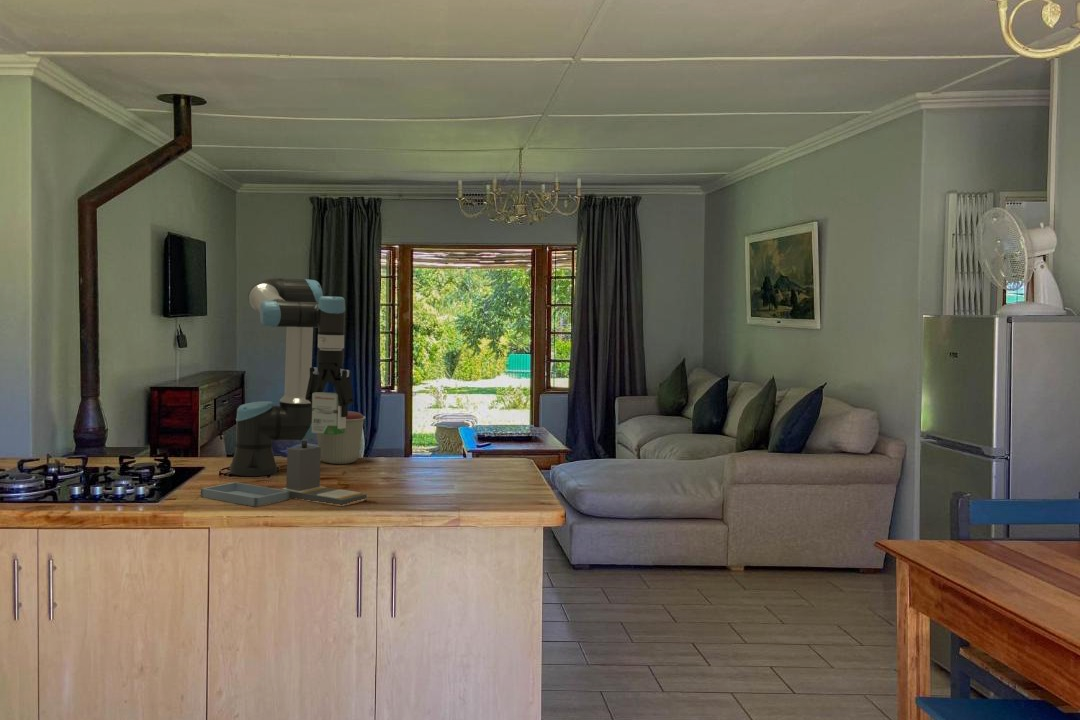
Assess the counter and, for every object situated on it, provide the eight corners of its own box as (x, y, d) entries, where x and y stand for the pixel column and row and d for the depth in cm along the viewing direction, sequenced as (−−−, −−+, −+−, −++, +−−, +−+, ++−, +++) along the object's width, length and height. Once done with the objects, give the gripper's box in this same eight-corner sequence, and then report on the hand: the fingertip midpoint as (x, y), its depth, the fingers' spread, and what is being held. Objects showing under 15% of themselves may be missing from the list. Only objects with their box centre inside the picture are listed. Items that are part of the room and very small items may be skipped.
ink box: (345, 433, 300) (346, 392, 299) (336, 435, 295) (337, 394, 295) (319, 431, 303) (320, 390, 302) (310, 432, 298) (311, 392, 298)
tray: (200, 497, 299) (200, 488, 299) (235, 490, 311) (235, 482, 311) (255, 507, 289) (256, 498, 289) (289, 499, 301) (289, 491, 300)
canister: (339, 468, 356) (340, 407, 355) (302, 461, 366) (303, 402, 365) (374, 462, 371) (376, 404, 370) (338, 456, 381) (339, 399, 380)
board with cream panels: (278, 496, 305) (278, 488, 305) (303, 490, 315) (304, 483, 314) (342, 507, 293) (342, 499, 293) (366, 501, 303) (366, 493, 303)
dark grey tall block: (286, 488, 305) (287, 442, 304) (306, 484, 313) (308, 438, 312) (299, 490, 302) (300, 443, 301) (319, 486, 310) (320, 440, 309)
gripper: (293, 347, 300) (291, 424, 301) (351, 351, 289) (349, 431, 290) (311, 347, 307) (309, 422, 308) (368, 351, 296) (366, 429, 297)
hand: (328, 426), depth 299 cm, fingers closed on ink box, 9 cm apart
